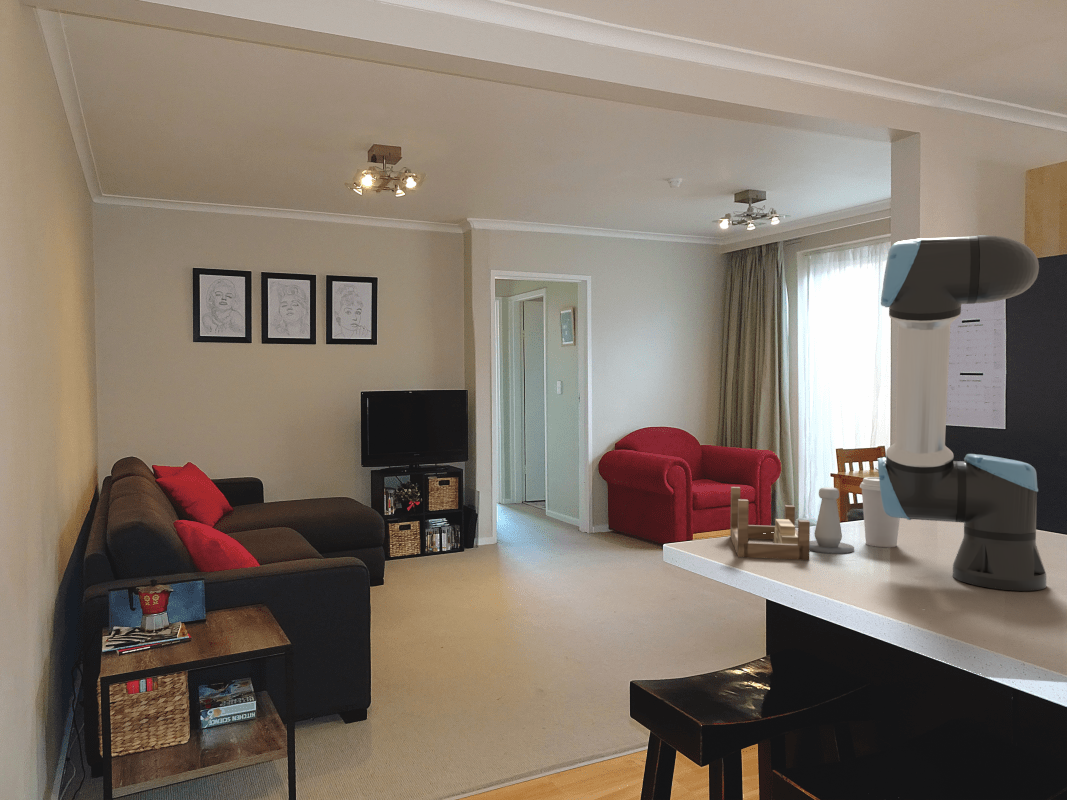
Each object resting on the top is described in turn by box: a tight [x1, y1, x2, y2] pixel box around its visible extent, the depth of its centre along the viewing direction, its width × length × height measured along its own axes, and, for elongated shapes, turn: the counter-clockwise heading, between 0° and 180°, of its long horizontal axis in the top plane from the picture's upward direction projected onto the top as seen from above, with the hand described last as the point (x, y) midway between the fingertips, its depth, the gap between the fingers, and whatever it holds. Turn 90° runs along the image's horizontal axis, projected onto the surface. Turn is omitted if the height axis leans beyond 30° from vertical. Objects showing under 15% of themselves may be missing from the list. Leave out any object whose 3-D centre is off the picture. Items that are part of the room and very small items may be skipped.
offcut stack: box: [773, 518, 798, 544], centre depth 175 cm, size 14×3×6 cm, turn 170°
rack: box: [729, 486, 811, 561], centre depth 175 cm, size 22×14×12 cm, turn 170°
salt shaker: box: [813, 486, 843, 548], centre depth 175 cm, size 6×6×13 cm
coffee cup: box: [859, 476, 901, 548], centre depth 180 cm, size 10×10×15 cm
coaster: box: [809, 540, 855, 554], centre depth 175 cm, size 11×11×1 cm
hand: (914, 418), depth 184 cm, fingers open, 13 cm apart
